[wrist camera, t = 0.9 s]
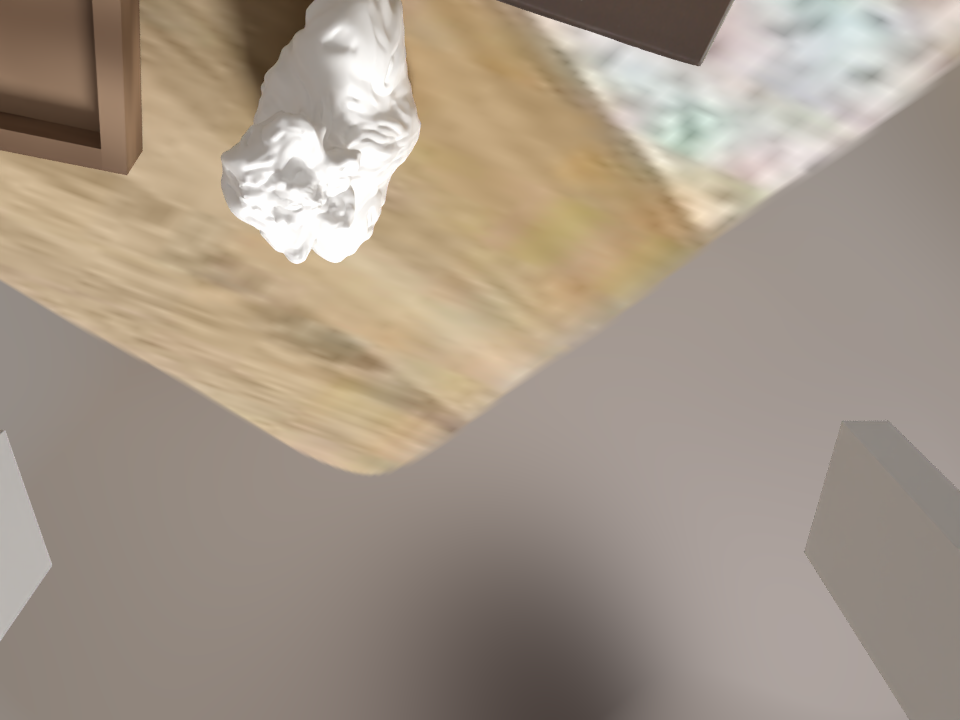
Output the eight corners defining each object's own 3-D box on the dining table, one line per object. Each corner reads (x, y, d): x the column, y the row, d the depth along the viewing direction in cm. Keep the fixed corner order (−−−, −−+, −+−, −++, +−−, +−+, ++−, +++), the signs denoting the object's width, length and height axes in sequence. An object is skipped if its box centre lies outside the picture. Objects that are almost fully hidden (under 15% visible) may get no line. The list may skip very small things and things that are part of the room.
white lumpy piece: (353, -56, 31) (118, -44, 23) (499, 3, 28) (296, 40, 20) (330, 194, 38) (148, 270, 30) (444, 257, 36) (280, 357, 28)
